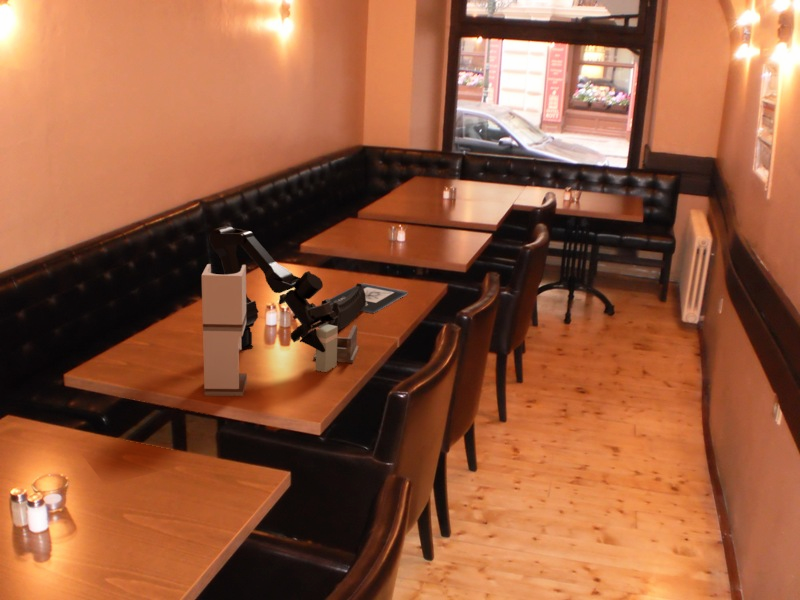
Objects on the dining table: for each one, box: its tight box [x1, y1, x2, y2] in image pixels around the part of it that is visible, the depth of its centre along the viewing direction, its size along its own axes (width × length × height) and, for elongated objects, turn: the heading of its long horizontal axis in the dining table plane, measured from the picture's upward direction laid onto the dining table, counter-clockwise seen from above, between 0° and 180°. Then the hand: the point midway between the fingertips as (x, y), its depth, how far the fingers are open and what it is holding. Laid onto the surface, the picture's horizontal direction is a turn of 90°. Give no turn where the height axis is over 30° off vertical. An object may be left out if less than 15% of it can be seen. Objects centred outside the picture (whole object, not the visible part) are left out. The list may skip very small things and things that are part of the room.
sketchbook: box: [328, 282, 409, 314], centre depth 332 cm, size 22×30×2 cm
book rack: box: [313, 324, 360, 364], centre depth 272 cm, size 12×13×8 cm
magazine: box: [332, 282, 366, 331], centre depth 303 cm, size 17×3×30 cm
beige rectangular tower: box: [201, 263, 248, 397], centre depth 239 cm, size 11×11×35 cm
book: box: [315, 324, 339, 373], centre depth 260 cm, size 4×6×13 cm, turn 153°
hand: (330, 348), depth 259 cm, fingers closed on book, 6 cm apart
